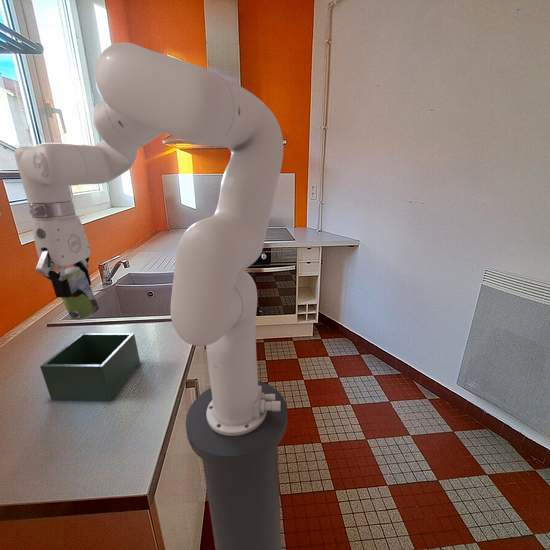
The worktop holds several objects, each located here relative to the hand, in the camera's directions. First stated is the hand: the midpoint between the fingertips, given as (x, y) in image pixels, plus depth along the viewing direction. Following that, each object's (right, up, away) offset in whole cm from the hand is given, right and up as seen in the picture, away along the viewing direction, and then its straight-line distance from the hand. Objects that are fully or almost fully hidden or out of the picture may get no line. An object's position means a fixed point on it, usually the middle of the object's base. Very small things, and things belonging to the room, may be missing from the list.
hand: (74, 290), depth 69 cm
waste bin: (0, -24, +9) cm, 25 cm away
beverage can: (0, -7, +2) cm, 7 cm away
